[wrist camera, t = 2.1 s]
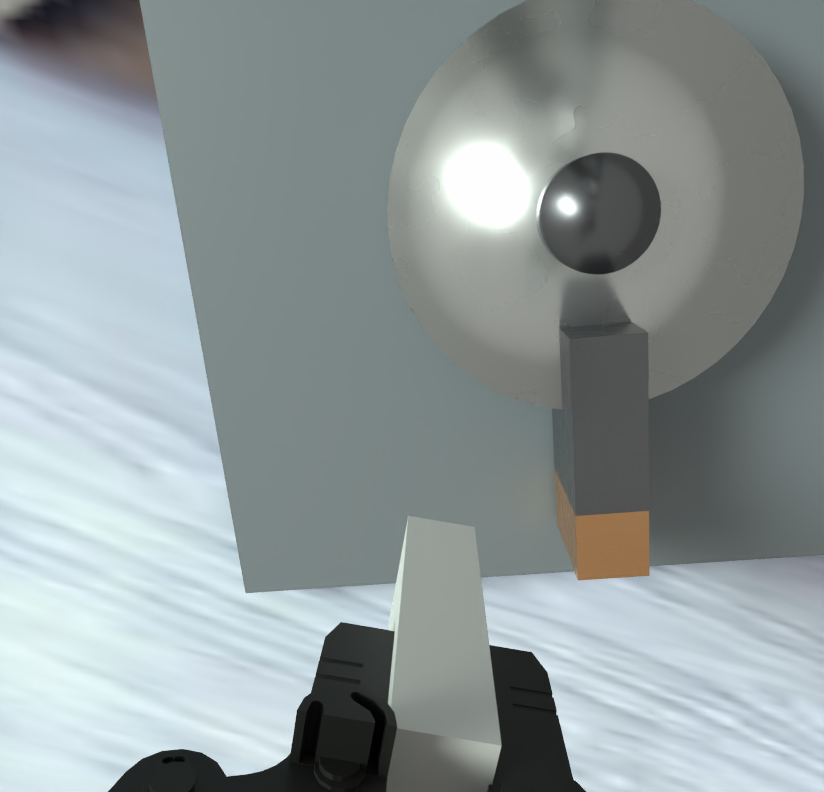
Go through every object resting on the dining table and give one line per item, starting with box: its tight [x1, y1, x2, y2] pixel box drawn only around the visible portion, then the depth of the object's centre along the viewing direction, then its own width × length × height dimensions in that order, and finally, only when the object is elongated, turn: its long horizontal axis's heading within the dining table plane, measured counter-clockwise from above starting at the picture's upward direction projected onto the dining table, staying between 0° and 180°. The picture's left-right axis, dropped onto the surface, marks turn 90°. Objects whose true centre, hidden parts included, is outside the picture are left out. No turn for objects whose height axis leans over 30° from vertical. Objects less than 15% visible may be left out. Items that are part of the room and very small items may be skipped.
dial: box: [387, 0, 804, 580], centre depth 19 cm, size 16×11×4 cm
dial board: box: [140, 0, 824, 593], centre depth 21 cm, size 24×24×2 cm
